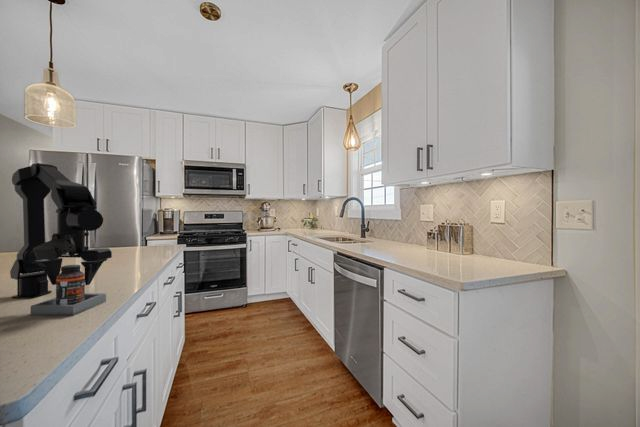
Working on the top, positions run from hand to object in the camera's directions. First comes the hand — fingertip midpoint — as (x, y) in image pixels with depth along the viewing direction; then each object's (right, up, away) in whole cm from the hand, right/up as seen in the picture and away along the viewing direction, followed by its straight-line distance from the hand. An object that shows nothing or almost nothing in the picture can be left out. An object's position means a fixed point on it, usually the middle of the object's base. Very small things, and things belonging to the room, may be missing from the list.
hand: (71, 284), depth 76 cm
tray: (0, -7, 0) cm, 7 cm away
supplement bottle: (0, -6, 0) cm, 6 cm away
